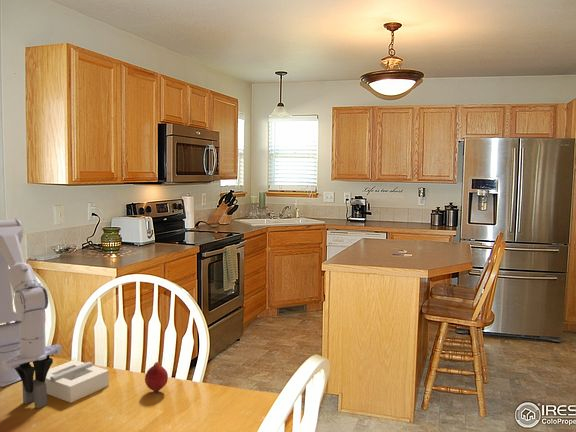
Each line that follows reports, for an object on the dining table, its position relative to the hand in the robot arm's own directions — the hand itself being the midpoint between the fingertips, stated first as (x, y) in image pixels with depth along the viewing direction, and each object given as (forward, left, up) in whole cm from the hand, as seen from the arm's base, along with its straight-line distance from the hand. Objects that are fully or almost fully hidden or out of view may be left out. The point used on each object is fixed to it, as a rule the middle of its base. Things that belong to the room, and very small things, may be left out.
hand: (34, 389), depth 131 cm
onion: (+21, +21, -4) cm, 30 cm away
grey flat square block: (0, 0, -4) cm, 4 cm away
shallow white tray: (0, +11, -4) cm, 12 cm away
